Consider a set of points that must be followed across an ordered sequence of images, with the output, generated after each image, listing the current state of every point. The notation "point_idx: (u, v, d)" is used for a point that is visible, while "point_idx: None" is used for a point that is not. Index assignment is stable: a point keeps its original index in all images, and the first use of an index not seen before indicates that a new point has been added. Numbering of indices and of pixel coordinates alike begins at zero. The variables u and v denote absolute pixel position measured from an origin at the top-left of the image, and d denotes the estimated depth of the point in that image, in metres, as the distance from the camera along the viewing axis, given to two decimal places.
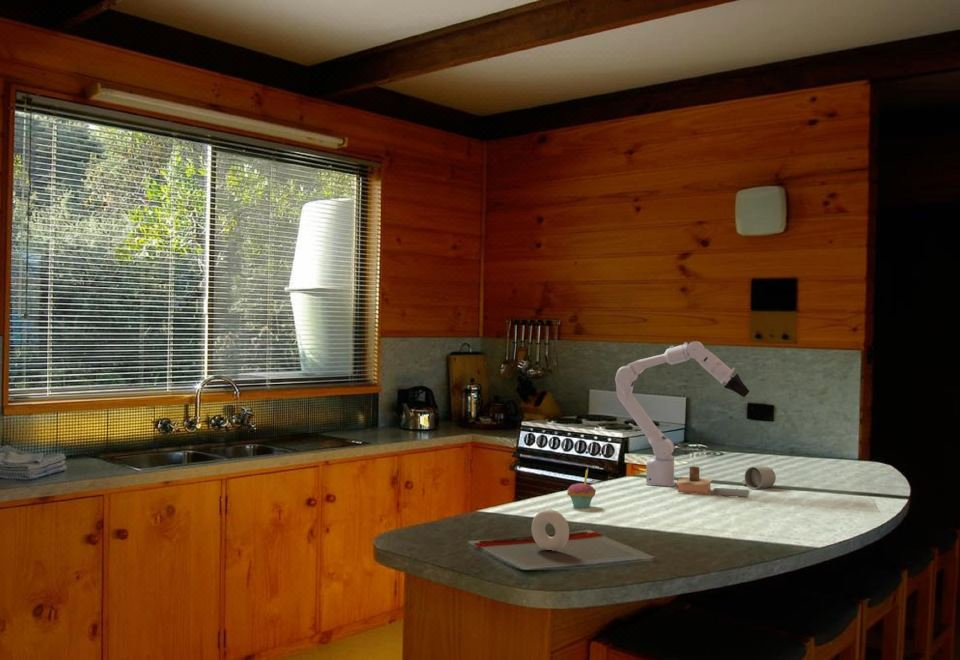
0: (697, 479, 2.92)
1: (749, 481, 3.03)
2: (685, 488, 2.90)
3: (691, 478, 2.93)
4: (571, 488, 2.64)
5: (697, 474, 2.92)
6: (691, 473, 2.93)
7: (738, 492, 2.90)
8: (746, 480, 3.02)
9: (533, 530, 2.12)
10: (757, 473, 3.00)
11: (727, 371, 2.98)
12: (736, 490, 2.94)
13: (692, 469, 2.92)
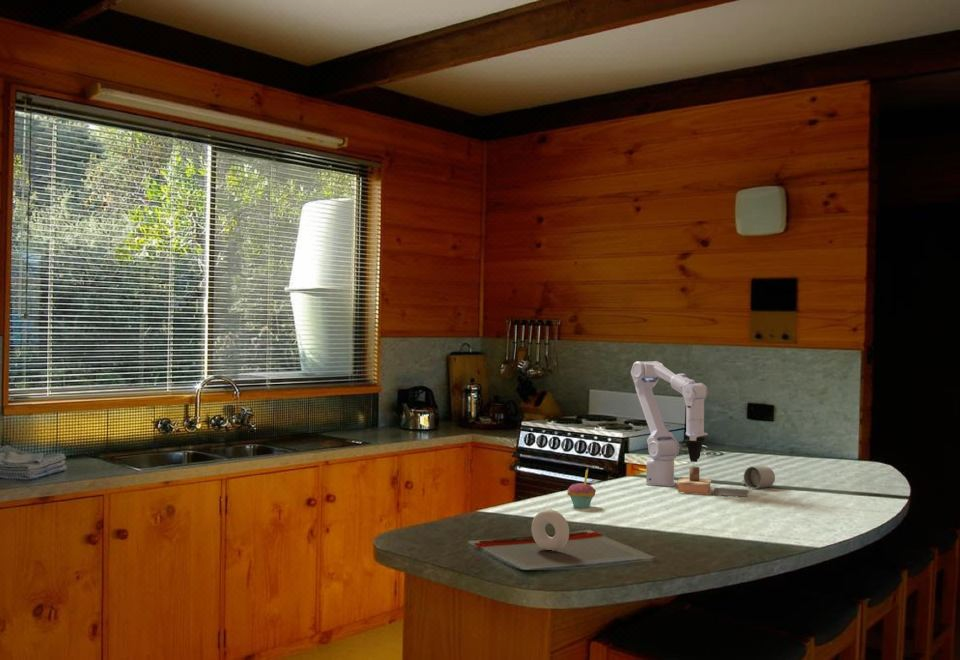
0: (697, 479, 2.92)
1: (748, 481, 3.03)
2: (685, 488, 2.90)
3: (691, 478, 2.93)
4: (571, 488, 2.64)
5: (697, 474, 2.92)
6: (691, 473, 2.93)
7: (738, 492, 2.90)
8: (745, 480, 3.03)
9: (533, 530, 2.12)
10: (756, 473, 3.00)
11: (699, 431, 2.91)
12: (736, 490, 2.94)
13: (692, 469, 2.92)
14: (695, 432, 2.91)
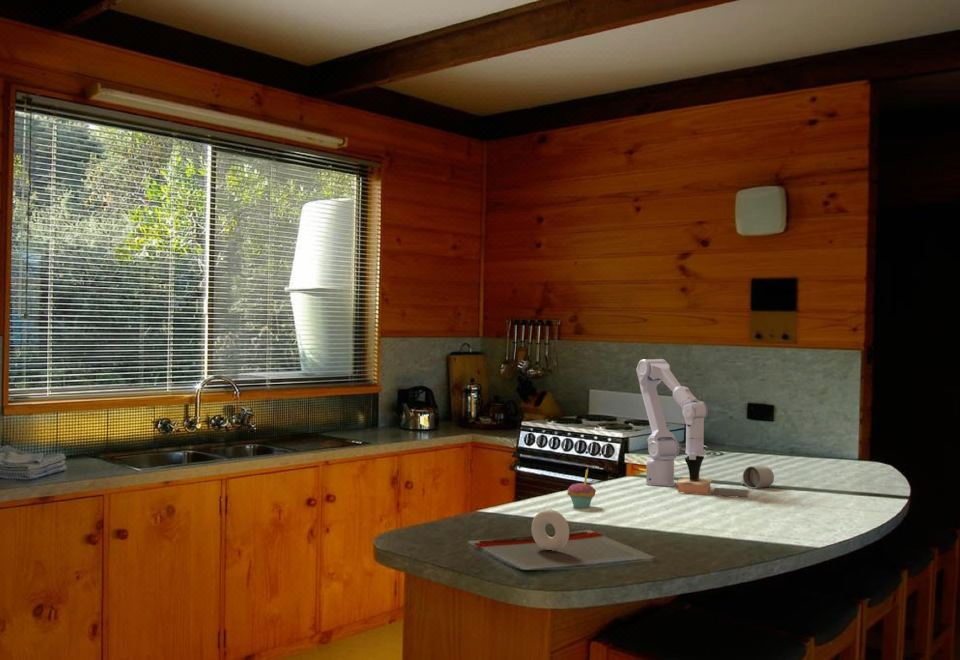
0: (697, 479, 2.92)
1: (747, 481, 3.04)
2: (685, 488, 2.90)
3: None
4: (571, 488, 2.64)
5: None
6: None
7: (738, 492, 2.90)
8: (744, 480, 3.03)
9: (533, 530, 2.12)
10: (755, 472, 3.00)
11: (699, 450, 2.91)
12: (736, 490, 2.94)
13: None
14: (695, 451, 2.91)
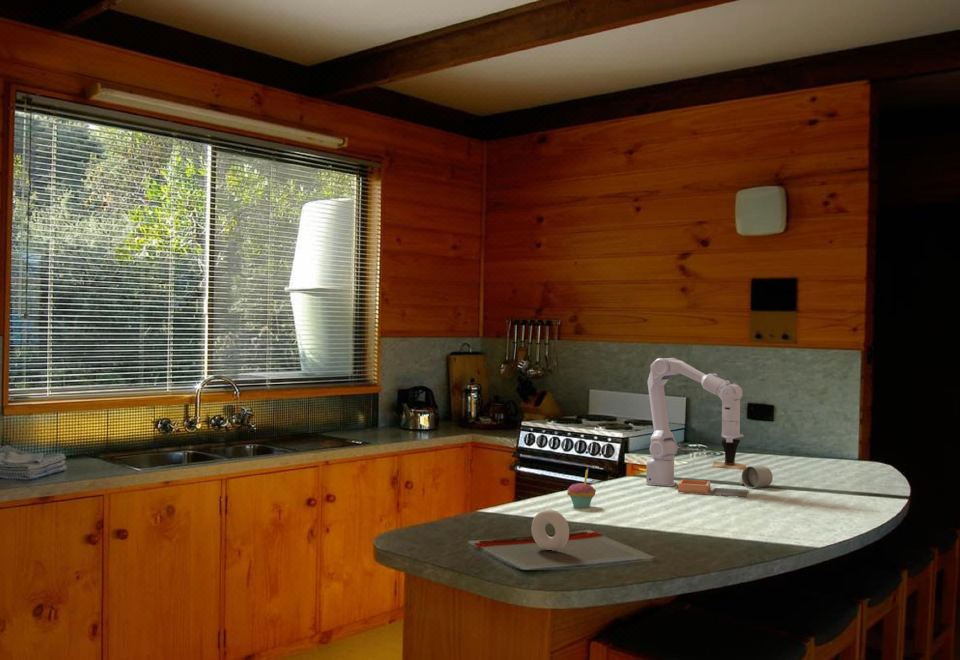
0: (733, 463, 2.90)
1: (746, 480, 3.04)
2: (685, 488, 2.90)
3: (726, 462, 2.90)
4: (571, 488, 2.64)
5: None
6: None
7: (738, 492, 2.90)
8: (743, 479, 3.04)
9: (533, 530, 2.12)
10: (754, 472, 3.01)
11: (735, 433, 2.88)
12: (736, 490, 2.94)
13: None
14: (731, 434, 2.88)
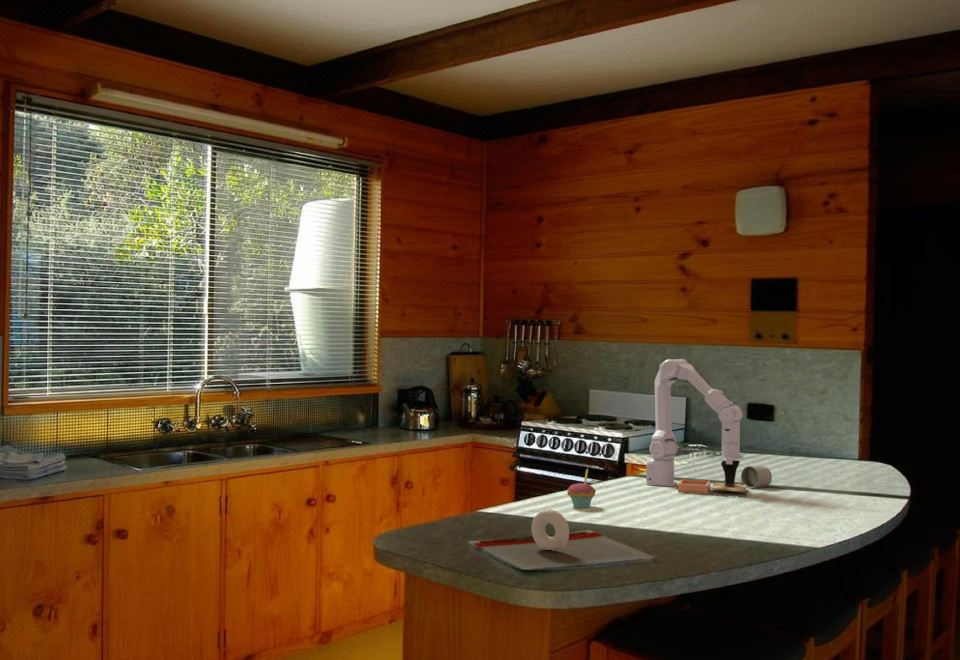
0: (732, 485, 2.90)
1: (745, 480, 3.04)
2: (685, 488, 2.90)
3: (726, 484, 2.90)
4: (571, 488, 2.64)
5: None
6: None
7: (738, 492, 2.90)
8: (742, 479, 3.04)
9: (533, 530, 2.12)
10: (753, 472, 3.01)
11: (735, 454, 2.88)
12: None
13: None
14: (731, 455, 2.88)
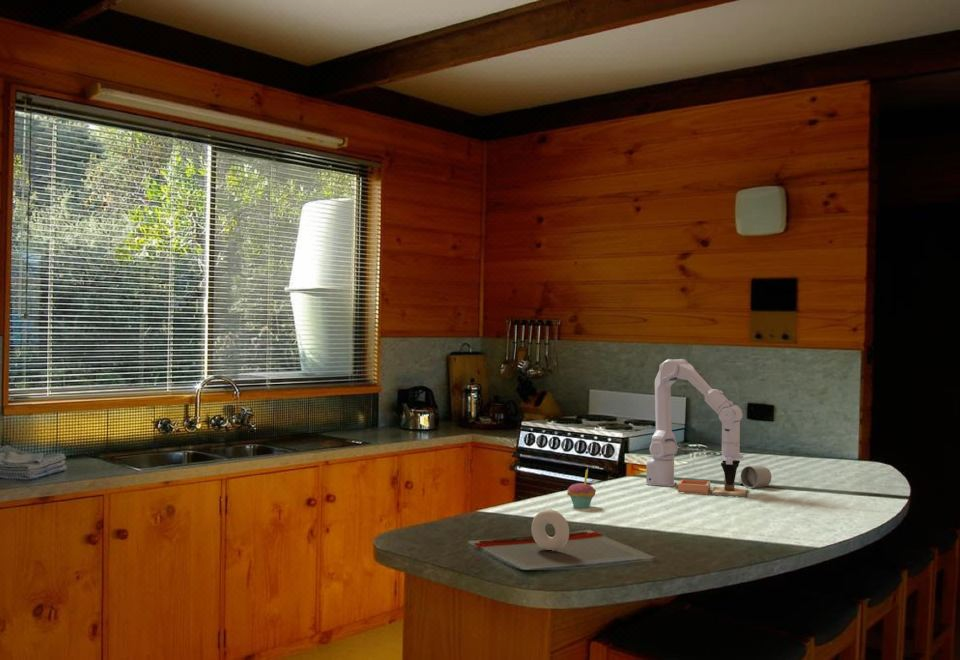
0: (732, 489, 2.90)
1: (745, 480, 3.04)
2: (685, 488, 2.90)
3: (726, 488, 2.90)
4: (571, 488, 2.64)
5: None
6: None
7: None
8: (742, 479, 3.04)
9: (533, 530, 2.12)
10: (753, 472, 3.01)
11: (735, 455, 2.88)
12: None
13: None
14: (731, 455, 2.88)
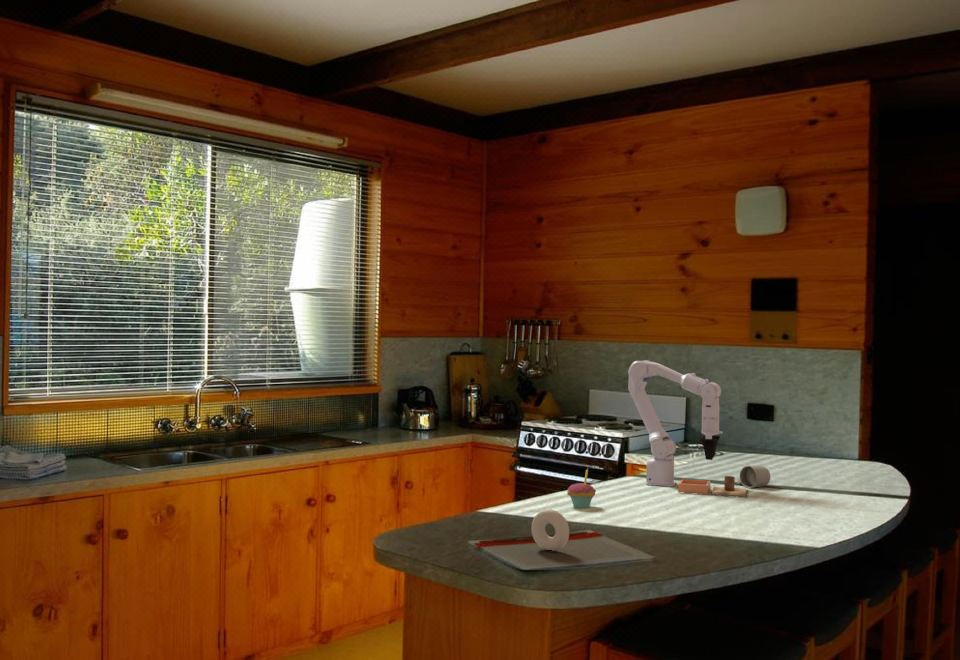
0: (732, 489, 2.90)
1: (744, 480, 3.05)
2: (685, 488, 2.90)
3: (726, 488, 2.90)
4: (571, 488, 2.64)
5: (732, 484, 2.90)
6: (726, 483, 2.90)
7: None
8: (741, 479, 3.04)
9: (533, 530, 2.12)
10: (752, 472, 3.02)
11: (715, 430, 2.96)
12: None
13: (727, 479, 2.90)
14: (711, 431, 2.96)
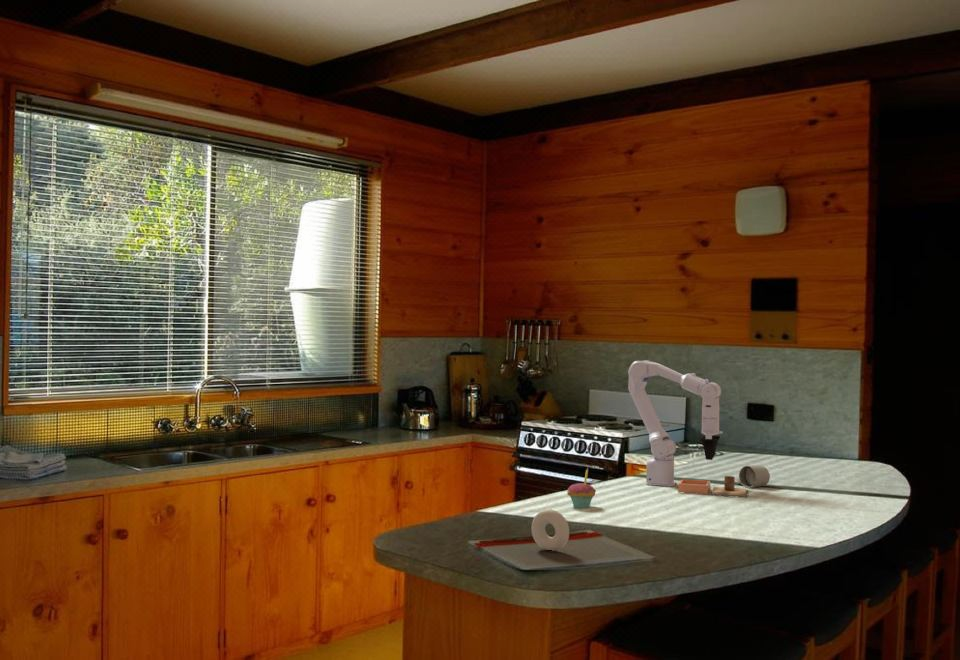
0: (732, 489, 2.90)
1: (743, 480, 3.05)
2: (685, 488, 2.90)
3: (726, 488, 2.90)
4: (571, 488, 2.64)
5: (732, 484, 2.90)
6: (726, 483, 2.90)
7: None
8: (740, 479, 3.05)
9: (533, 530, 2.12)
10: (751, 472, 3.02)
11: (715, 430, 2.96)
12: None
13: (727, 479, 2.90)
14: (711, 431, 2.96)
